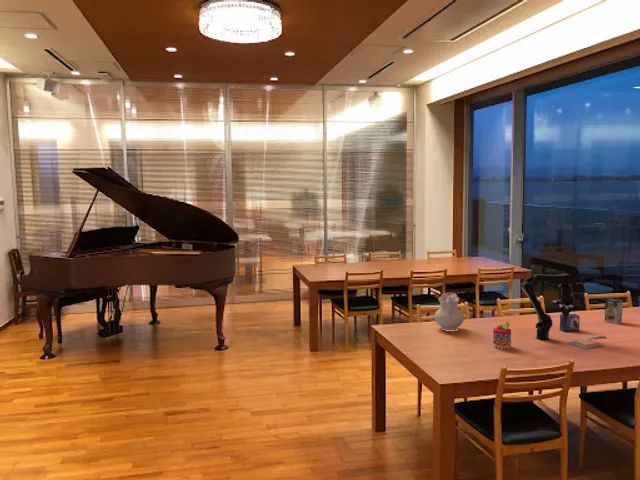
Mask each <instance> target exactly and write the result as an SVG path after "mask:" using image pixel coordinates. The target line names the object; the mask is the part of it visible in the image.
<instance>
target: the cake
mask: <svg viewBox="0 0 640 480" xmlns="http://www.w3.org/2000/svg"><path fill="white" fill-rule="evenodd" d="M510 325H511V324H510V323H509V322H508V321H506V322H505V323H503V324H502V323H497V326H496V327H494V328H493V329H492V334H493V336H492V337H493V338H492V339H493V340H492V343H493V347H494V346H495V347H498V348H504V349H503V350H506V349H505V348H510V347H512V346H511V345H512V329H511V328H509V327H510ZM495 347H494V348H495ZM510 349H511V348H510Z"/></svg>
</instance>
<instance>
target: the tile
mask: <svg viewBox="0 0 640 480" xmlns="http://www.w3.org/2000/svg"><path fill="white" fill-rule="evenodd" d="M575 341H576V343H575V344H576V345H579V346H582V347H585V348H589V347H596V346H598V344H599V342H597V341H595V340H592V341H591V340H588V339H587V340H584V339H581V340H575Z"/></svg>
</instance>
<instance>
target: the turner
mask: <svg viewBox="0 0 640 480" xmlns="http://www.w3.org/2000/svg"><path fill="white" fill-rule="evenodd" d="M606 338H607V336H606V335H600V336H592V337H586V338H583V340H587V339H588V340H591V341H597V339H606Z"/></svg>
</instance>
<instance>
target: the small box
mask: <svg viewBox="0 0 640 480" xmlns="http://www.w3.org/2000/svg"><path fill="white" fill-rule="evenodd" d="M580 317H581V316H580V315H578V314H576V313H569V315H568V317H567V319H565V318H564V316H563V314H562V313H561V314H559V330H560V331H561V332H564V333H568V332H569V333H571V332H576V333H577V332H580V323H581V322H580Z"/></svg>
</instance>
